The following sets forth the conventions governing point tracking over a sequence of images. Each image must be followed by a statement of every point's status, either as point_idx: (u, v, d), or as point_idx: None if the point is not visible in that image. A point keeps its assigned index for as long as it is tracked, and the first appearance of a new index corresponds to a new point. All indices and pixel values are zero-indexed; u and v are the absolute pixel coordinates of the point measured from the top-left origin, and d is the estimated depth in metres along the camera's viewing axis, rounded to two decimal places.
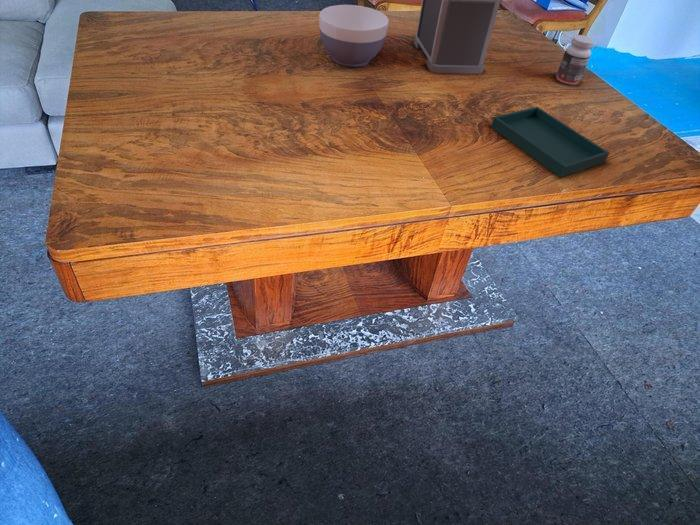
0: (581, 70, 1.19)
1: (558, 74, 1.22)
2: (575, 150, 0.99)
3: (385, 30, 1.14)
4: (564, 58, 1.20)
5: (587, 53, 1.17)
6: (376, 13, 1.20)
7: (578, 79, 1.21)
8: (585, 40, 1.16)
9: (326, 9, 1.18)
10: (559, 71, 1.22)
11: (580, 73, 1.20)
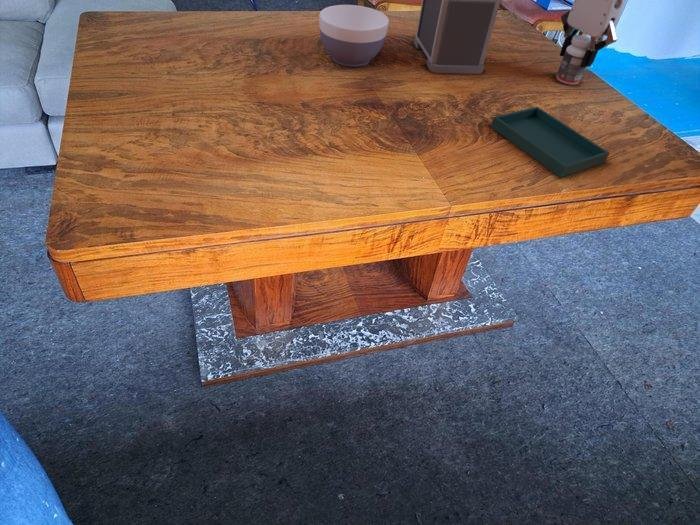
0: (581, 70, 1.19)
1: (558, 74, 1.22)
2: (575, 150, 0.99)
3: (385, 30, 1.14)
4: (564, 58, 1.20)
5: None
6: (376, 13, 1.20)
7: (578, 79, 1.21)
8: (585, 40, 1.16)
9: (326, 9, 1.18)
10: (559, 71, 1.22)
11: (580, 73, 1.20)
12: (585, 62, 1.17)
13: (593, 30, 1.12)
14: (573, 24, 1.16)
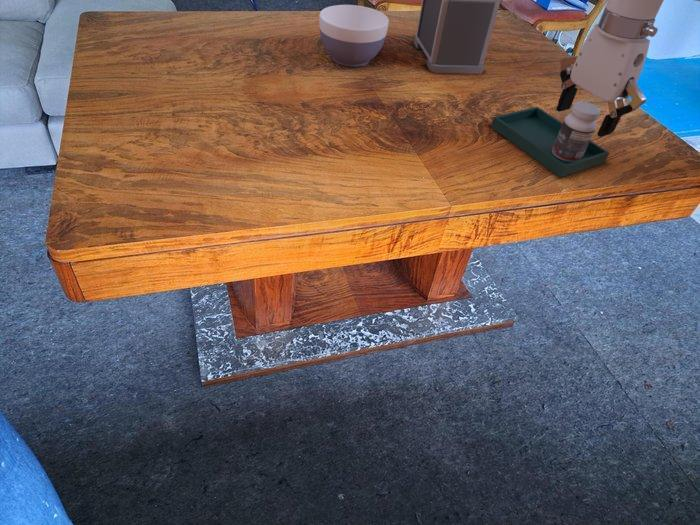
0: (584, 146, 0.93)
1: (554, 149, 0.96)
2: None
3: (385, 30, 1.14)
4: (562, 130, 0.93)
5: (592, 126, 0.90)
6: (376, 13, 1.20)
7: (580, 156, 0.95)
8: (589, 109, 0.90)
9: (326, 9, 1.18)
10: (556, 145, 0.95)
11: (583, 149, 0.94)
12: (604, 130, 0.88)
13: (605, 92, 0.85)
14: (578, 82, 0.88)
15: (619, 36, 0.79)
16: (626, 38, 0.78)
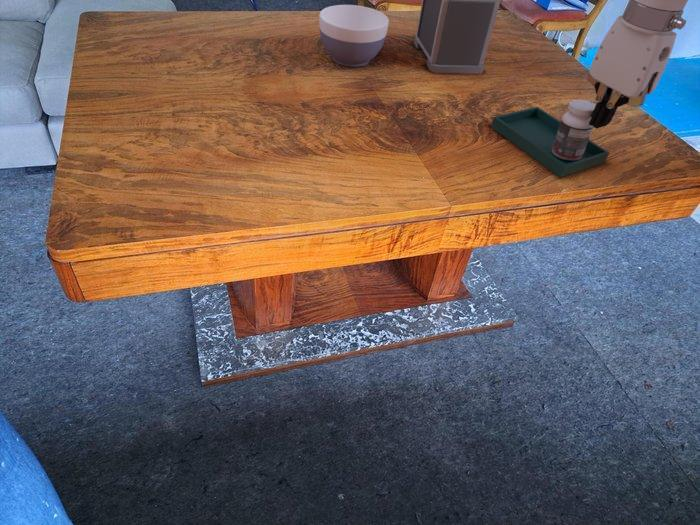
0: (584, 143, 0.93)
1: (554, 148, 0.96)
2: None
3: (385, 30, 1.14)
4: (560, 129, 0.93)
5: None
6: (376, 13, 1.20)
7: (580, 154, 0.94)
8: (585, 106, 0.90)
9: (326, 9, 1.18)
10: (555, 144, 0.95)
11: (582, 147, 0.93)
12: (600, 122, 0.88)
13: (627, 88, 0.81)
14: (598, 77, 0.84)
15: (645, 28, 0.75)
16: (652, 30, 0.74)
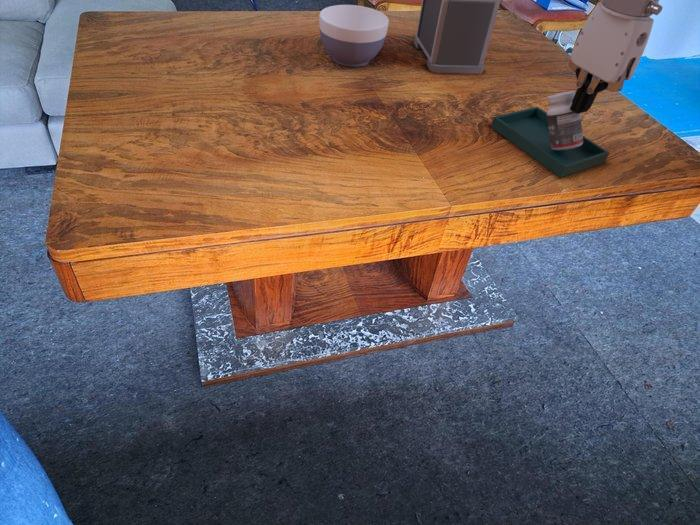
0: (576, 127, 0.93)
1: (552, 144, 0.96)
2: (575, 150, 0.99)
3: (385, 30, 1.14)
4: (549, 123, 0.95)
5: None
6: (376, 13, 1.20)
7: (579, 139, 0.94)
8: (563, 93, 0.93)
9: (326, 9, 1.18)
10: (551, 140, 0.96)
11: (577, 131, 0.93)
12: (580, 107, 0.90)
13: (606, 73, 0.83)
14: (578, 62, 0.86)
15: (623, 13, 0.77)
16: (630, 16, 0.76)
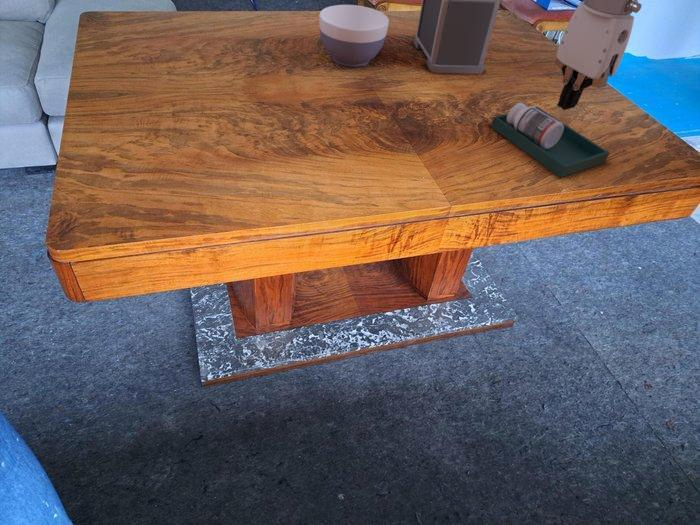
0: (536, 120, 0.96)
1: (539, 146, 0.98)
2: (575, 150, 0.99)
3: (385, 30, 1.14)
4: None
5: (521, 111, 0.98)
6: (376, 13, 1.20)
7: (546, 124, 0.95)
8: None
9: (326, 9, 1.18)
10: None
11: (539, 121, 0.95)
12: (567, 103, 0.92)
13: (590, 69, 0.85)
14: (564, 60, 0.89)
15: (604, 12, 0.79)
16: (611, 14, 0.79)
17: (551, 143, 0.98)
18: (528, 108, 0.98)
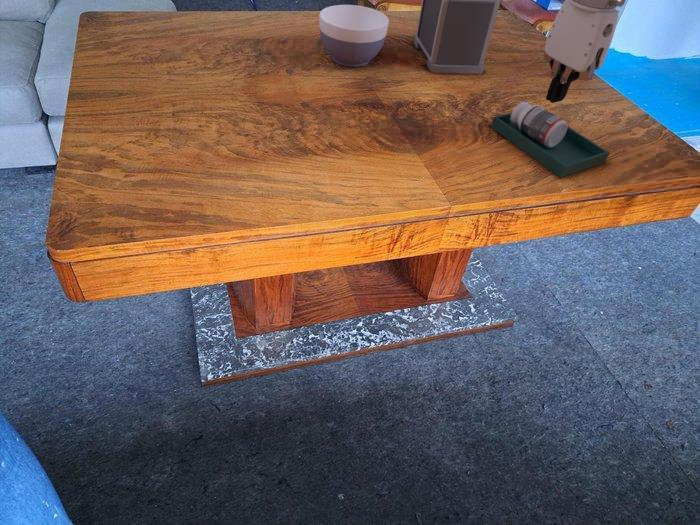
0: (544, 114, 0.96)
1: (541, 142, 0.98)
2: (575, 150, 0.99)
3: (385, 30, 1.14)
4: (526, 133, 1.00)
5: (529, 107, 0.99)
6: (376, 13, 1.20)
7: (555, 119, 0.95)
8: None
9: (326, 9, 1.18)
10: (538, 141, 0.98)
11: (548, 116, 0.96)
12: (555, 96, 0.94)
13: (576, 63, 0.87)
14: (551, 54, 0.91)
15: (589, 6, 0.81)
16: (595, 8, 0.81)
17: (553, 143, 0.98)
18: (536, 105, 0.99)
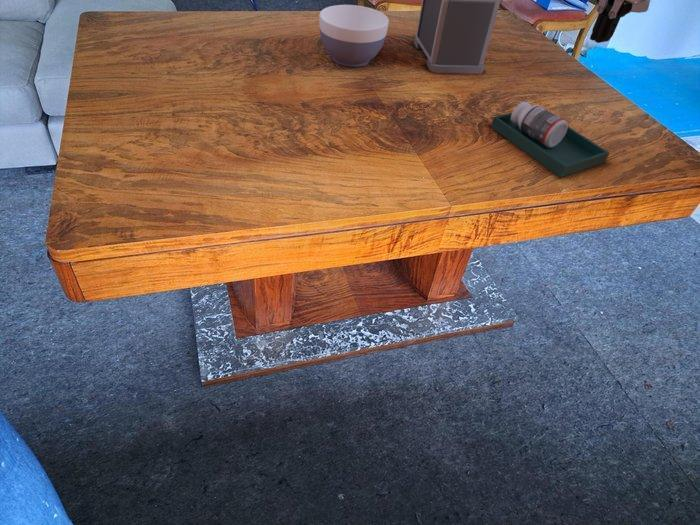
0: (545, 114, 0.96)
1: (541, 142, 0.98)
2: (575, 150, 0.99)
3: (385, 30, 1.14)
4: (526, 133, 1.00)
5: (529, 107, 0.99)
6: (376, 13, 1.20)
7: (555, 119, 0.95)
8: None
9: (326, 9, 1.18)
10: (538, 140, 0.98)
11: (548, 116, 0.96)
12: (602, 35, 0.83)
13: None
14: None
15: None
16: None
17: (553, 143, 0.98)
18: (536, 105, 0.99)
